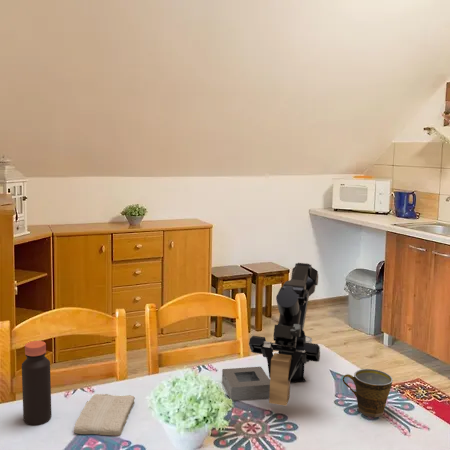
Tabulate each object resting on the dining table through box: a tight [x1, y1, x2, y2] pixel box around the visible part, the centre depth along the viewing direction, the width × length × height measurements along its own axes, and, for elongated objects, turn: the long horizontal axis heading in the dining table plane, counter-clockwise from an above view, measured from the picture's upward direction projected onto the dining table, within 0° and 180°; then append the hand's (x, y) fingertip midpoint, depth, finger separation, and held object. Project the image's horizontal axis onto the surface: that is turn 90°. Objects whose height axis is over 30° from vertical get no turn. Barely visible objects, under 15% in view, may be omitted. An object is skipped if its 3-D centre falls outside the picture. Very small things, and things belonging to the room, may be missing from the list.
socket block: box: [221, 366, 270, 402], centre depth 152 cm, size 12×12×4 cm
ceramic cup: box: [342, 368, 394, 418], centre depth 141 cm, size 13×10×10 cm
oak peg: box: [268, 352, 292, 407], centre depth 137 cm, size 5×5×12 cm
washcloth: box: [73, 393, 136, 436], centre depth 135 cm, size 12×18×3 cm, turn 179°
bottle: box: [21, 340, 52, 426], centre depth 131 cm, size 7×7×20 cm
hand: (279, 378), depth 136 cm, fingers closed on oak peg, 5 cm apart
